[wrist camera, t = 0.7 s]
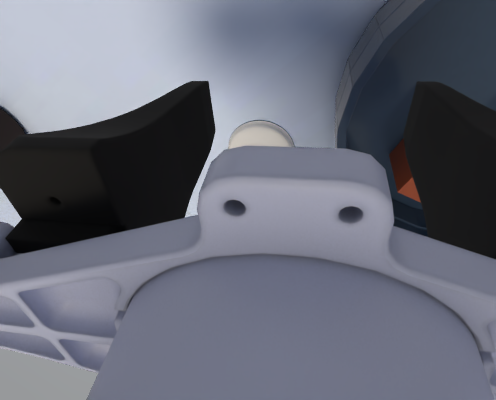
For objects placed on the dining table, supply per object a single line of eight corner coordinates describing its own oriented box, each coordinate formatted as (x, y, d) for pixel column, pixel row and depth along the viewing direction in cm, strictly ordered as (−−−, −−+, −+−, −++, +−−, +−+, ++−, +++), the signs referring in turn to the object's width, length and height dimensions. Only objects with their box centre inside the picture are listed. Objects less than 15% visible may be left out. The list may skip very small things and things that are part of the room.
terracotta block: (482, 133, 23) (506, 172, 20) (436, 177, 25) (451, 216, 22) (429, 107, 22) (446, 143, 19) (388, 154, 25) (397, 192, 22)
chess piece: (274, 109, 24) (253, 210, 17) (305, 163, 27) (298, 271, 19) (216, 136, 26) (175, 236, 19) (249, 183, 29) (224, 287, 22)
